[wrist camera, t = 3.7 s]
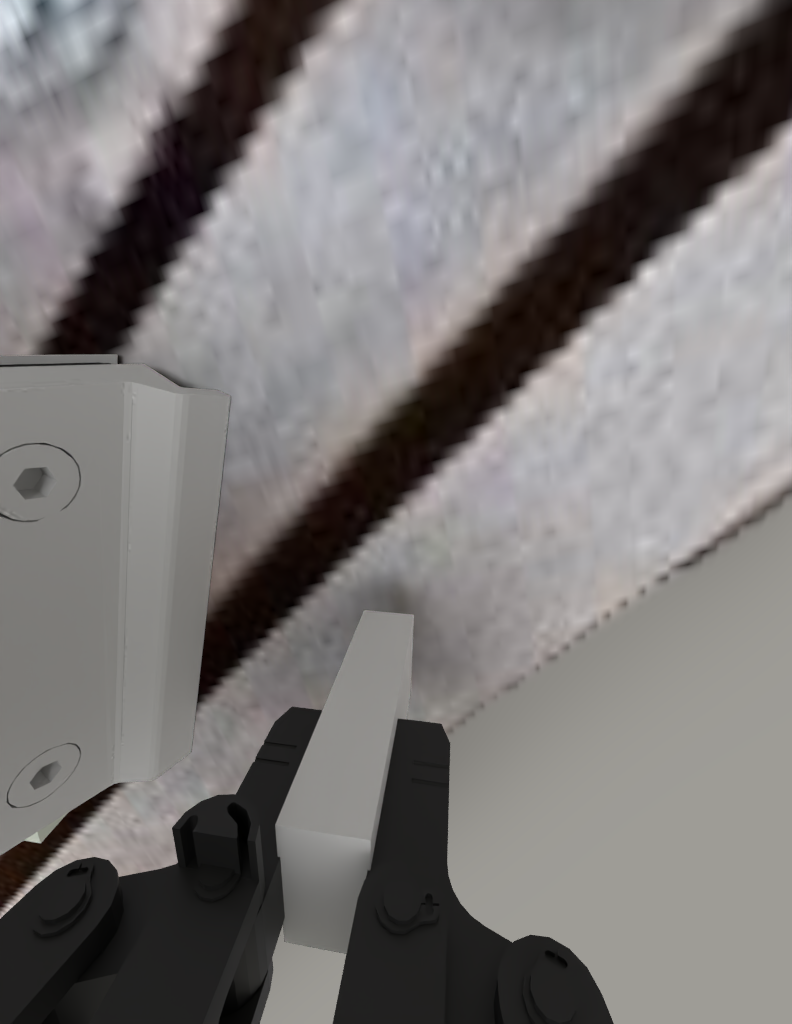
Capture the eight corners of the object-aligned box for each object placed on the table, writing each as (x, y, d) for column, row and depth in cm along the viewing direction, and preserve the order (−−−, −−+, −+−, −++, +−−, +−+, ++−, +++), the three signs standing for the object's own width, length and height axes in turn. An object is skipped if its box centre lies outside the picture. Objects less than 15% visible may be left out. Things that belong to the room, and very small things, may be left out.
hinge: (190, 758, 20) (-155, 1032, 11) (124, 704, 21) (-219, 903, 13) (232, 383, 14) (-388, 328, 5) (139, 352, 16) (-443, 273, 7)
